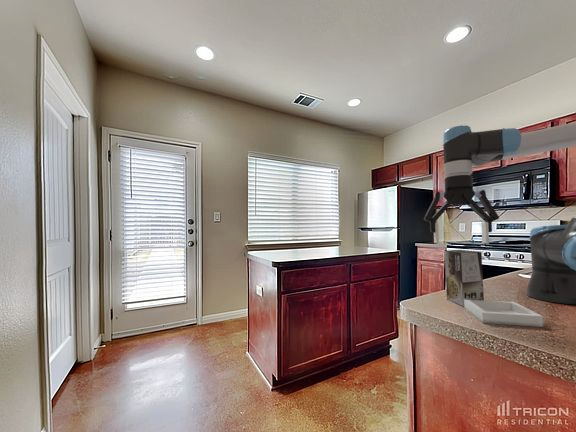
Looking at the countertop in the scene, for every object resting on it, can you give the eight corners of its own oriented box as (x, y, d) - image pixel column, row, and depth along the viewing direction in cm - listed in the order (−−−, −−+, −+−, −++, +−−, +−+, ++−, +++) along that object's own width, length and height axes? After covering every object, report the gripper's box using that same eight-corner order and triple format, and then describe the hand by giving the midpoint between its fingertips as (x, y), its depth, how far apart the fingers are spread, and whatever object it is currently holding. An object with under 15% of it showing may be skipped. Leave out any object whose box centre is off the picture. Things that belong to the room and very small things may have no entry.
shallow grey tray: (514, 311, 74) (514, 301, 74) (543, 327, 62) (542, 316, 62) (464, 308, 77) (464, 299, 77) (482, 322, 65) (482, 312, 65)
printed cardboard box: (485, 306, 78) (482, 251, 79) (463, 307, 78) (460, 252, 79) (465, 298, 87) (463, 249, 88) (445, 298, 87) (443, 249, 88)
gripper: (498, 176, 85) (501, 242, 84) (413, 180, 91) (415, 242, 90) (511, 171, 77) (514, 244, 76) (417, 176, 84) (419, 243, 83)
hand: (460, 243), depth 83 cm, fingers open, 13 cm apart
